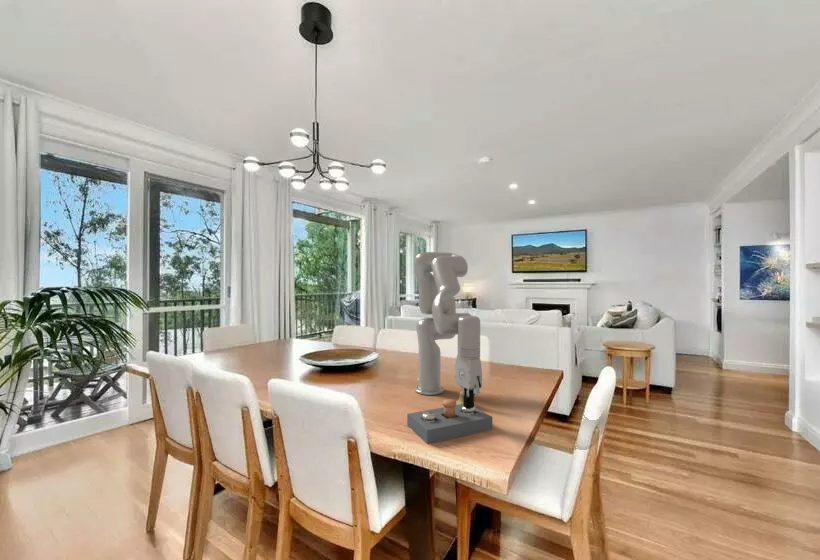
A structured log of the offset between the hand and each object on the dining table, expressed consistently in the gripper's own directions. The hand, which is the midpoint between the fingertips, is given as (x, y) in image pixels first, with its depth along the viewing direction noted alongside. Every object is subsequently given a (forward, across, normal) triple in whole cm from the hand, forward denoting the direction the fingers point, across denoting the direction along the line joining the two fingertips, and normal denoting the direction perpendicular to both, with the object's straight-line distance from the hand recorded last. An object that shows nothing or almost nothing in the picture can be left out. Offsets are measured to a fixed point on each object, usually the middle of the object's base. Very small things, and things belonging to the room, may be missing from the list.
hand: (468, 407), depth 120 cm
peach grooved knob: (+2, 0, -7) cm, 8 cm away
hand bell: (+6, -14, +8) cm, 18 cm away
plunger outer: (+5, 0, -15) cm, 16 cm away
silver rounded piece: (+5, 0, 0) cm, 5 cm away
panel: (+6, 0, -8) cm, 9 cm away
